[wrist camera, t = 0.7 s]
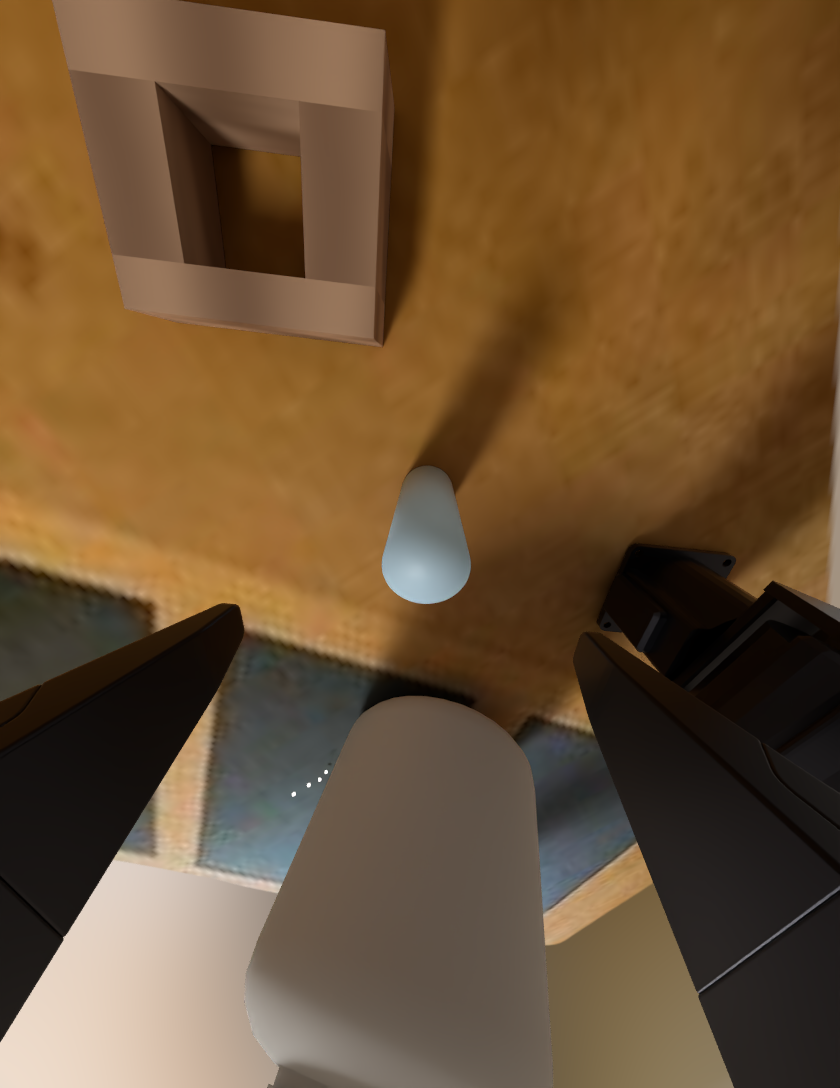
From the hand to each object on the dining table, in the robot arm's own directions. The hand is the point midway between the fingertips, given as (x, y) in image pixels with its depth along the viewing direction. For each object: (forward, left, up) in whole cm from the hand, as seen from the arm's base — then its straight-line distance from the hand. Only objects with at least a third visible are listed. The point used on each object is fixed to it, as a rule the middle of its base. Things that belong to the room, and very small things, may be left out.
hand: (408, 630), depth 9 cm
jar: (-1, +22, -12) cm, 25 cm away
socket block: (+8, -11, -12) cm, 18 cm away
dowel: (0, 0, -12) cm, 12 cm away
